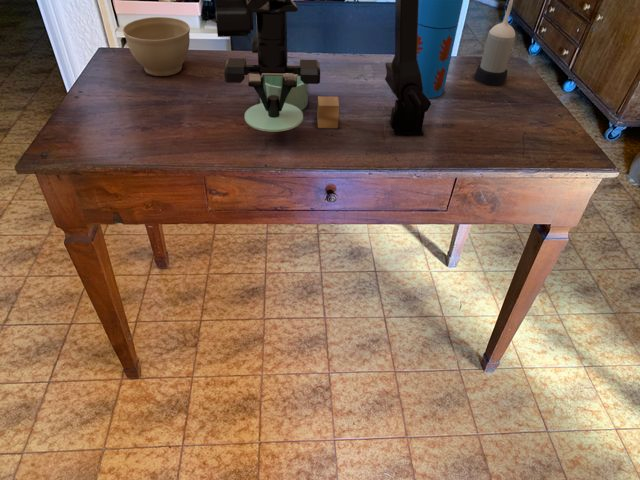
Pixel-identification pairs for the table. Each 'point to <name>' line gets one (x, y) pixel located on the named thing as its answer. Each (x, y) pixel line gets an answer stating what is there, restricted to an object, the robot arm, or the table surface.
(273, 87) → the tin
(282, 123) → the lid
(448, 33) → the thermos
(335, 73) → the table surface
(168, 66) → the planter bowl
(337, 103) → the block
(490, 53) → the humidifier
